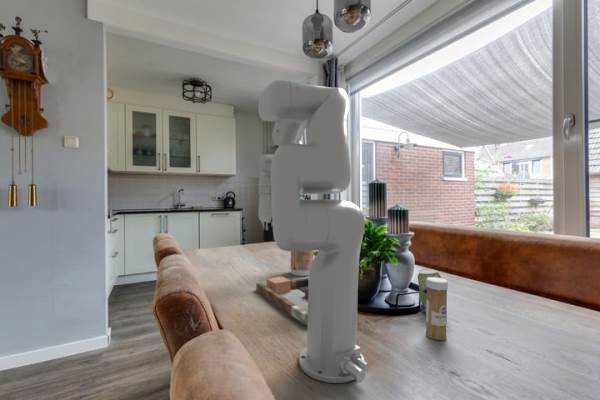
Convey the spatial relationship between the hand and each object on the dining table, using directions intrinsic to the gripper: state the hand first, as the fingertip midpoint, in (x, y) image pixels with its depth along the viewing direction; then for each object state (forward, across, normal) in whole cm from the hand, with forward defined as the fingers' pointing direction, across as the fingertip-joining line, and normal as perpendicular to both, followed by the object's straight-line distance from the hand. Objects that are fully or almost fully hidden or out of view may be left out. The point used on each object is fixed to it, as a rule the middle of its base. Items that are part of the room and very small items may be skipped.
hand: (268, 240), depth 104 cm
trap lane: (+16, -21, -4) cm, 27 cm away
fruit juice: (+16, +6, -19) cm, 26 cm away
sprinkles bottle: (+15, -56, -17) cm, 61 cm away
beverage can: (+15, -47, -29) cm, 57 cm away
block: (+16, -9, 0) cm, 19 cm away
